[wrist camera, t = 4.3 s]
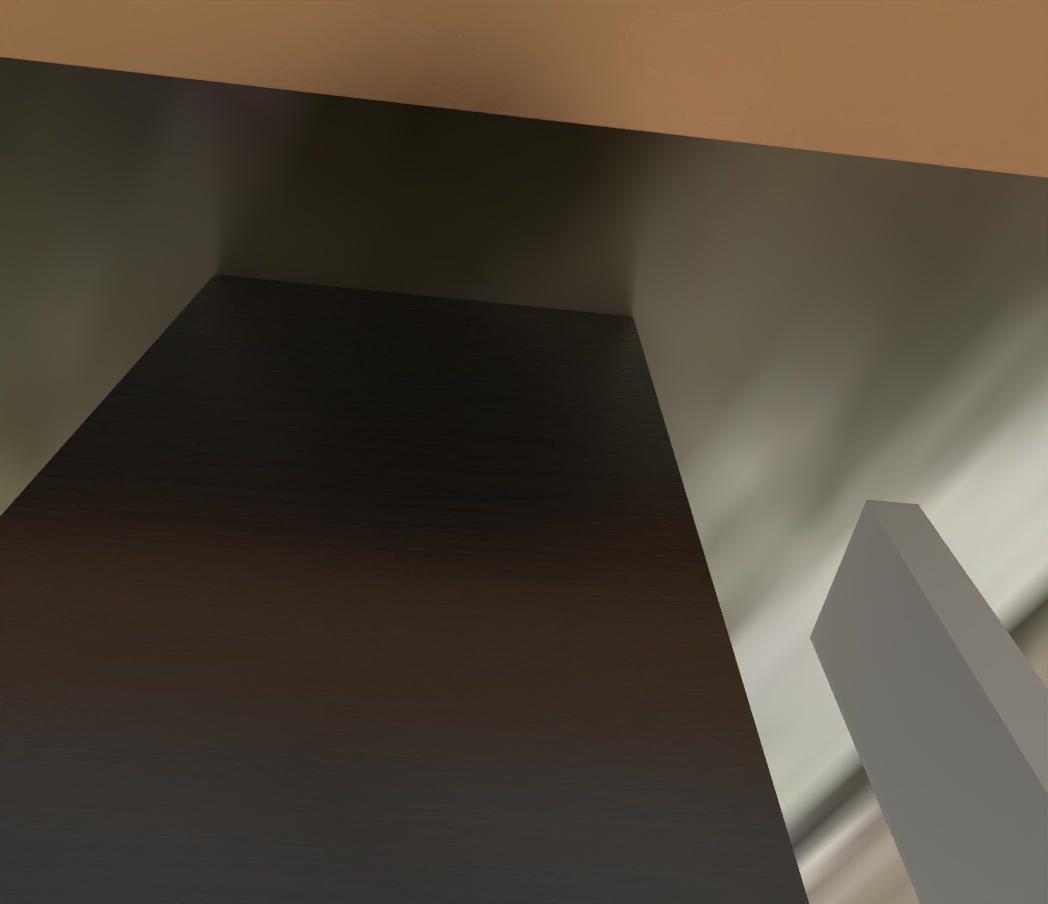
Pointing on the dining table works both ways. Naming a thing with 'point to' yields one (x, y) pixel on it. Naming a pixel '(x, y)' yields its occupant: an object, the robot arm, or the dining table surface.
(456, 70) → the hammer
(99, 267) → the dining table surface
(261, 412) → the dark grey block
